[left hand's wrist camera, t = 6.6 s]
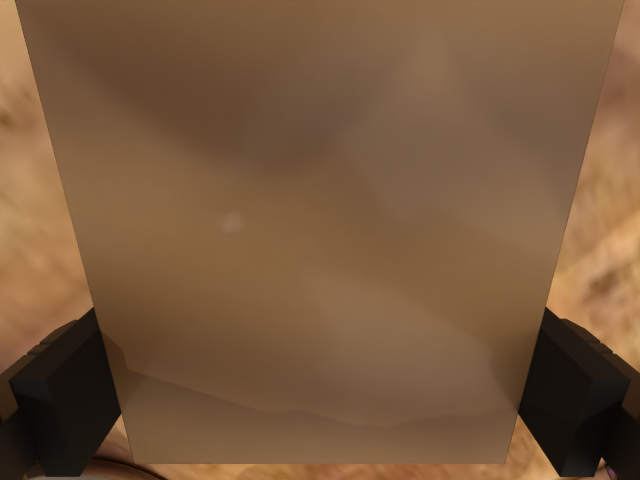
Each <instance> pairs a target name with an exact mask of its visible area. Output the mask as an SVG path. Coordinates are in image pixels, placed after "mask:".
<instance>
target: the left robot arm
mask: <svg viewBox="0 0 640 480" xmlns="http://www.w3.org/2000/svg"><path fill="white" fill-rule="evenodd" d="M518 414H519V415H520V417H521V418H522V420H523V421H524V423H525V424H526V426H527V428H528V429H529V431H530V432H531V434H532V435H533V437H534V438H535V440H536V441H537V443H538V444H539V446H540V447H541V449H542V450H543V452H544V453H545V455H546V456H547V458H548V459H549V461H550V462H551V464H552V465H553V467H554V469H555V470H556V472H557V473H558V475H559V476H560V477H594V475H595V472H596V470H597V467H598V465H599V462H600V460H601V457H602V458H603V459H604V461H605V462H606V463H607V464H608V465H609V467H610V468H611V469H612V470H613V472H614V473H615V474H614V476H613V479H612V480H640V373H639V372H638V371H636V370H635V369H634V368H633V367H631V366H630V365H629V364H628V363H627V362H625V361H624V360H623V359H622V358H620V357H619V356H618V355H617V354H613V351H612V350H611V349H609V348H608V347H607V346H606V345H604V344H603V343H600V340H598V339H597V338H596V337H595V336H593V335H592V334H591V333H590V332H589V331H587V330H586V329H585V328H583V327H581V326H579V325H577V324H575V323H573V322H571V321H569V320H567V319H560V318H558V317H557V316H556V315H555V314H554V313H553V312H551V311H550V310H549V309H548V308H547V307H545V310H544V314H543V318H542V322H541V326H540V330H539V334H538V338H537V341H536V345H535V349H534V353H533V357H532V361H531V365H530V369H529V373H528V376H527V380H526V384H525V388H524V392H523V396H522V400H521V404H520V407H519V411H518ZM120 415H121V410H120V406H119V402H118V398H117V394H116V390H115V386H114V382H113V379H112V375H111V371H110V367H109V363H108V359H107V355H106V351H105V348H104V344H103V340H102V336H101V332H100V328H99V324H98V320H97V317H96V313H95V309H94V307H93V308H92V309H91V310H89V311H88V312H87V313H86V314H85V315H84V316H82V317H81V318H80V319H79V320H73V321H71V322H69V323H67V324H65V325H64V326H62V327H60V328H58V329H56V330H54V331H53V332H52V333H51V334H49V335H48V336H47V337H46V338H44V339H43V340H42V341H41V342H40V344H39V345H36V346H35V347H33V348H32V349H31V350H30V351H29V352H27V355H24V356H23V357H21V358H20V359H19V360H18V361H16V362H15V363H14V364H13V365H12V366H10V367H9V368H8V369H7V370H5V371H4V372H3V373H2V374H1V375H0V480H160V479H158V478H156V477H154V476H152V475H150V474H148V473H146V472H143V471H141V470H138V469H136V468H133V467H130V466H126V465H123V464H119V463H115V462H110V461H105V460H97V459H92V457H93V456H94V454H95V453H96V451H97V450H98V448H99V447H100V445H101V444H102V442H103V441H104V439H105V438H106V436H107V435H108V433H109V432H110V430H111V428H112V427H113V425H114V424H115V422H116V421H117V419H118V418H119V416H120ZM38 458H39V461H40V463H39V464H36V465H33V464H34V463H35V462H36V461H37V460H38Z"/></svg>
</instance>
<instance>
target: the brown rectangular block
mask: <svg viewBox="0 0 640 480" xmlns="http://www.w3.org/2000/svg"><path fill="white" fill-rule="evenodd" d="M15 3H16V7H17V10H18V14H19V18H20V22H21V26H22V30H23V34H24V38H25V41H26V45H27V49H28V53H29V57H30V61H31V65H32V69H33V72H34V76H35V80H36V84H37V88H38V92H39V96H40V100H41V103H42V107H43V111H44V115H45V119H46V123H47V127H48V131H49V134H50V138H51V142H52V146H53V150H54V154H55V158H56V162H57V165H58V169H59V173H60V177H61V181H62V185H63V189H64V193H65V196H66V200H67V204H68V208H69V212H70V216H71V220H72V224H73V227H74V231H75V235H76V239H77V243H78V247H79V251H80V255H81V258H82V262H83V266H84V270H85V274H86V278H87V282H88V286H89V289H90V293H91V297H92V301H93V305H94V309H95V313H96V317H97V320H98V324H99V328H100V332H101V336H102V340H103V344H104V348H105V351H106V355H107V359H108V363H109V367H110V371H111V375H112V379H113V382H114V386H115V390H116V394H117V398H118V402H119V406H120V410H121V413H122V417H123V421H124V425H125V429H126V433H127V437H128V441H129V444H130V448H131V452H132V456H133V460H134V463H135V464H504V463H505V462H506V458H507V454H508V450H509V446H510V442H511V439H512V435H513V431H514V427H515V423H516V419H517V415H518V411H519V407H520V404H521V400H522V396H523V392H524V388H525V384H526V380H527V376H528V373H529V369H530V365H531V361H532V357H533V353H534V349H535V345H536V341H537V338H538V334H539V330H540V326H541V322H542V318H543V314H544V310H545V307H546V303H547V299H548V295H549V291H550V287H551V283H552V279H553V276H554V272H555V268H556V264H557V260H558V256H559V252H560V248H561V244H562V241H563V237H564V233H565V229H566V225H567V221H568V217H569V213H570V210H571V206H572V202H573V198H574V194H575V190H576V186H577V182H578V179H579V175H580V171H581V167H582V163H583V159H584V155H585V151H586V147H587V144H588V140H589V136H590V132H591V128H592V124H593V120H594V116H595V113H596V109H597V105H598V101H599V97H600V93H601V89H602V85H603V81H604V78H605V74H606V70H607V66H608V62H609V58H610V54H611V50H612V47H613V43H614V39H615V35H616V31H617V27H618V23H619V19H620V16H621V12H622V8H623V4H624V0H15Z"/></svg>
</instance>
